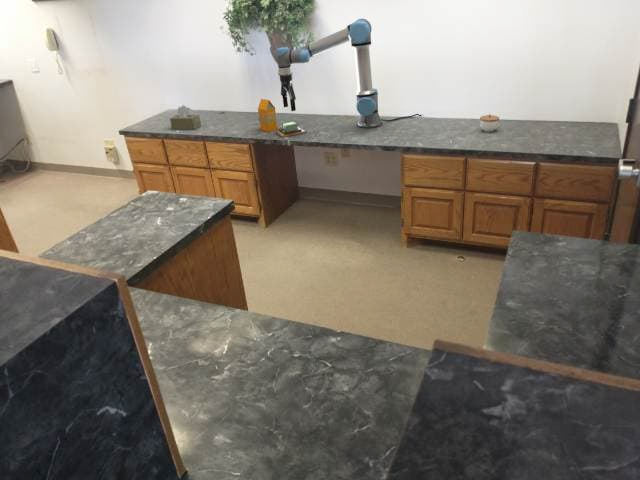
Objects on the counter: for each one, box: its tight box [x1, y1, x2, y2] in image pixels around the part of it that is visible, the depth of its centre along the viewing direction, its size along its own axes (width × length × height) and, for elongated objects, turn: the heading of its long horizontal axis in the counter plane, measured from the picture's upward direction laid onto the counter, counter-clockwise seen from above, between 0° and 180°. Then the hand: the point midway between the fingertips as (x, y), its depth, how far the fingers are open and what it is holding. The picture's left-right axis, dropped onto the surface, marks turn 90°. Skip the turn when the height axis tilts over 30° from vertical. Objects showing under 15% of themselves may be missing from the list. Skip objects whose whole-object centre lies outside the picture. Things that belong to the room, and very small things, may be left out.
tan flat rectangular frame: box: [275, 126, 306, 138], centre depth 330 cm, size 16×12×2 cm
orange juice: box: [257, 98, 278, 133], centre depth 337 cm, size 8×9×20 cm
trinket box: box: [479, 114, 500, 133], centre depth 299 cm, size 11×11×9 cm
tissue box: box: [169, 104, 202, 131], centre depth 359 cm, size 19×10×16 cm, turn 73°
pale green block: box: [281, 121, 298, 132], centre depth 329 cm, size 8×6×5 cm
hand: (289, 108), depth 323 cm, fingers open, 13 cm apart
